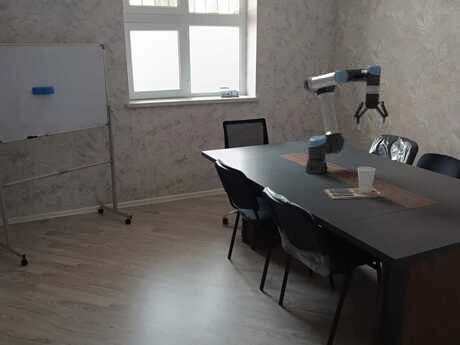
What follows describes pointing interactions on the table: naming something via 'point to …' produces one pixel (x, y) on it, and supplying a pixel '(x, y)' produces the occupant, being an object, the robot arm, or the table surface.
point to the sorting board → (351, 193)
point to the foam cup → (365, 178)
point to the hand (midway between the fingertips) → (370, 129)
